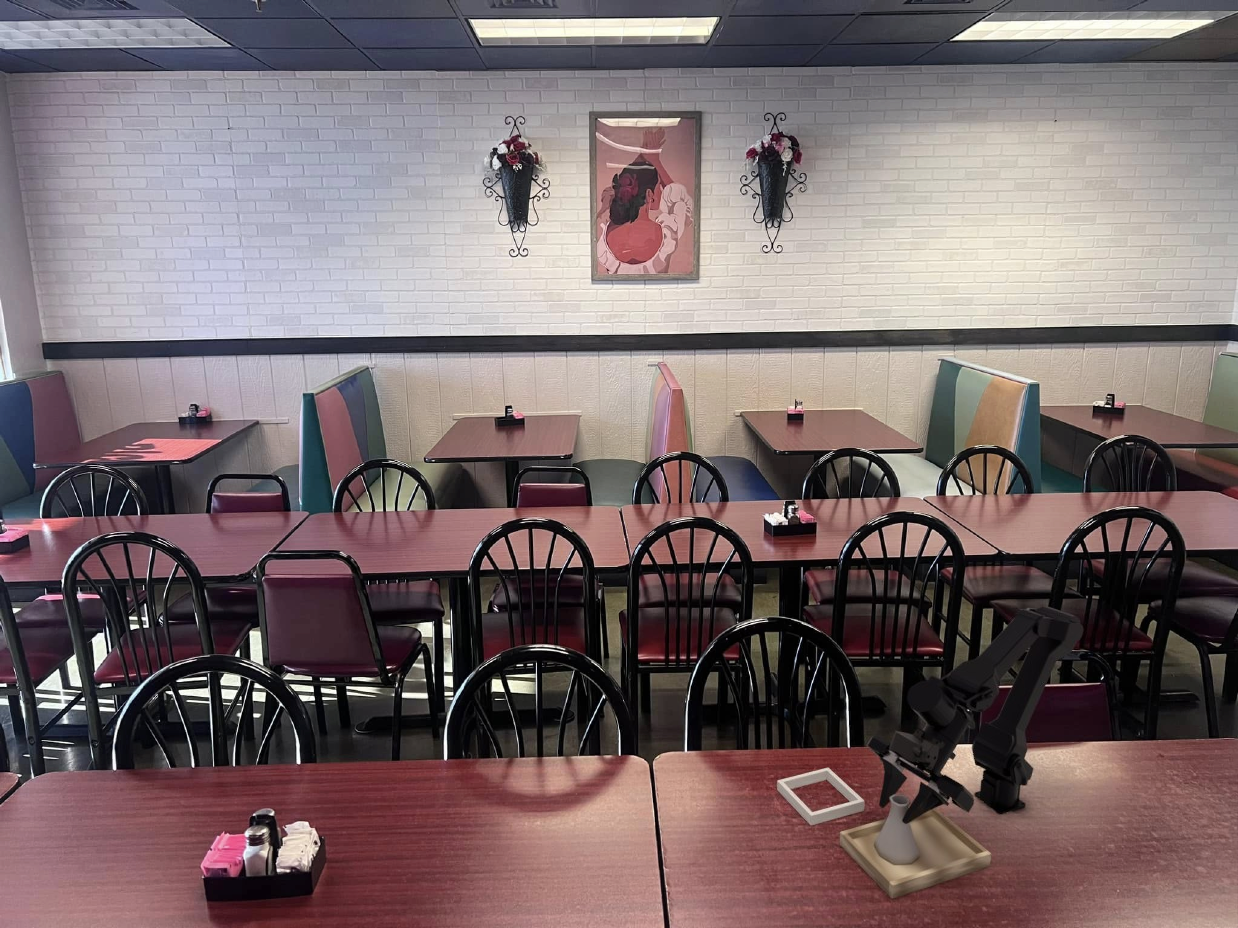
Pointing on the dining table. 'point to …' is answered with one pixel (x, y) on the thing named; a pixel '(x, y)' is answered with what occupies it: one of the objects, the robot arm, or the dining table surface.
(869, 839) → the serving tray
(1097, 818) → the dining table surface
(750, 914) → the dining table surface
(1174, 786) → the dining table surface
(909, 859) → the flask
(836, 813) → the white square frame
